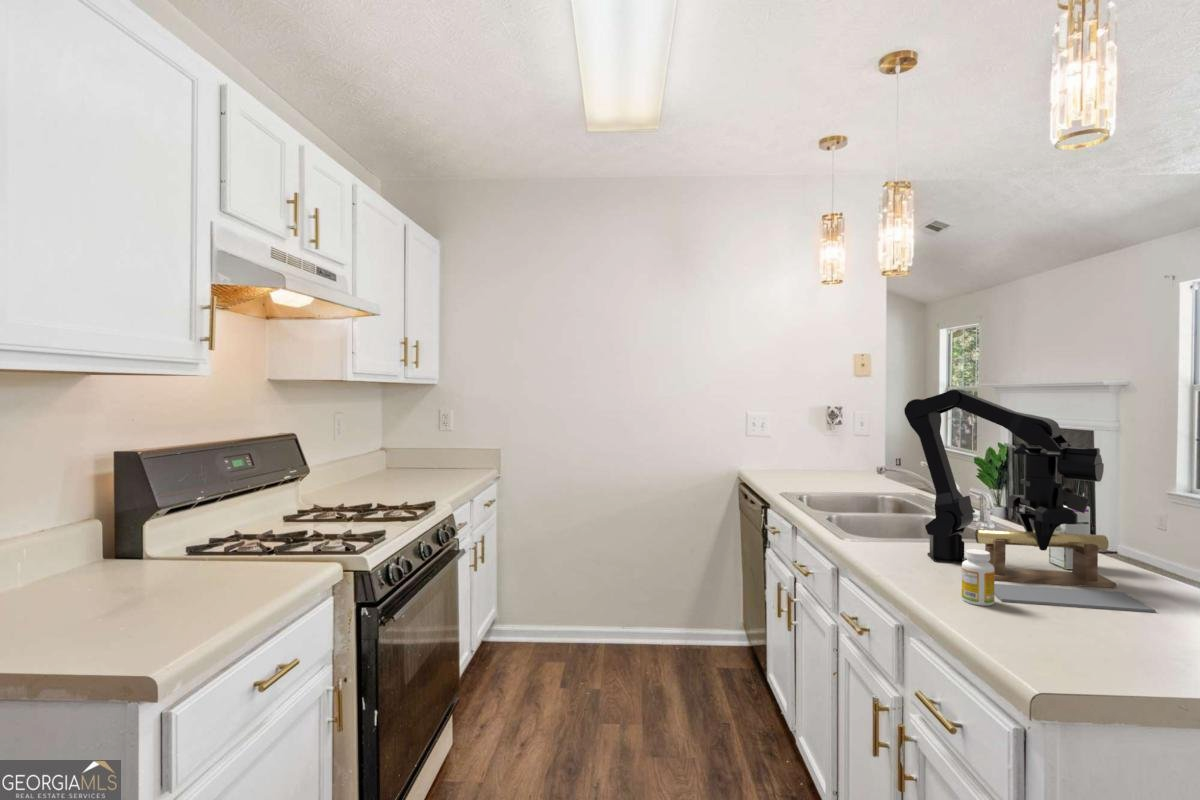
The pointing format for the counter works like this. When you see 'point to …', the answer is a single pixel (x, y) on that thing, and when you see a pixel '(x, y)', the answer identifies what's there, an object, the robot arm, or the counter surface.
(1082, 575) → the cradle rack
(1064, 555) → the syrup box
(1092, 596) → the slate mat
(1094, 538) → the brass rail
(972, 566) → the supplement bottle
